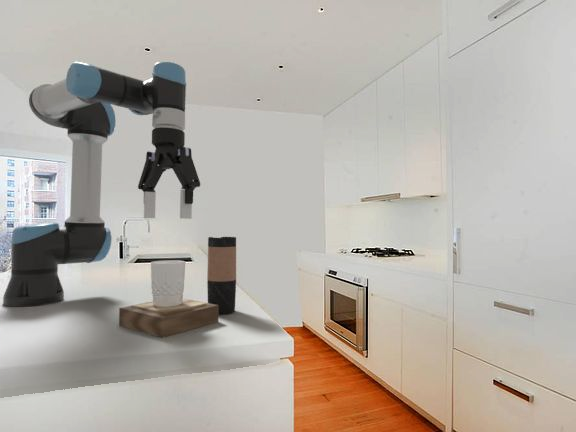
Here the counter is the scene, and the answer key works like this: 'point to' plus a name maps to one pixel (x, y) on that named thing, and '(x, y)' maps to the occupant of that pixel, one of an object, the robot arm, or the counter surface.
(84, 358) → the counter surface
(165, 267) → the white cup
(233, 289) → the travel mug
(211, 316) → the walnut riser
